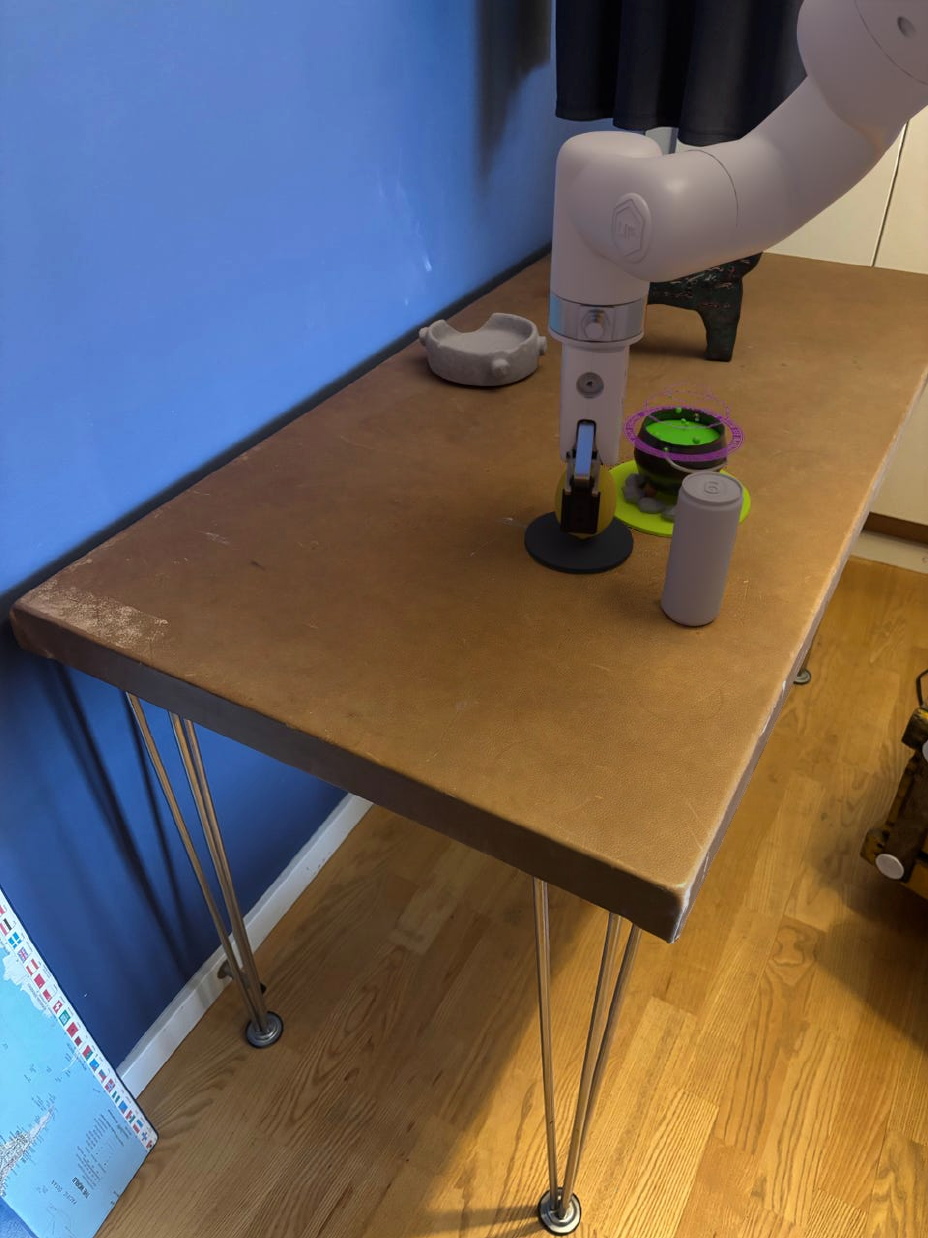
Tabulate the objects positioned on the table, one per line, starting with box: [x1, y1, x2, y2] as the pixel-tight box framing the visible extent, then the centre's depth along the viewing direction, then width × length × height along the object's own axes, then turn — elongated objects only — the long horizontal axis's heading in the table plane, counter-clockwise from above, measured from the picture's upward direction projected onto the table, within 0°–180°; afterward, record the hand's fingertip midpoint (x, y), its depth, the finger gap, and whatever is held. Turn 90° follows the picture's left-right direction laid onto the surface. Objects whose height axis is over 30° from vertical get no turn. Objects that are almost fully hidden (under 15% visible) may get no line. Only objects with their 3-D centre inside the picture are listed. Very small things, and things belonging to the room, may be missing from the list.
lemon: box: [553, 464, 617, 539], centre depth 81 cm, size 6×6×8 cm
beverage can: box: [661, 471, 744, 627], centre depth 72 cm, size 5×5×12 cm
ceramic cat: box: [647, 251, 764, 362], centre depth 112 cm, size 20×6×20 cm, turn 76°
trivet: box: [523, 510, 634, 575], centre depth 84 cm, size 10×10×1 cm
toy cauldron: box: [608, 382, 751, 538], centre depth 87 cm, size 15×15×11 cm
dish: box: [418, 312, 548, 387], centre depth 113 cm, size 14×14×5 cm
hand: (581, 507), depth 82 cm, fingers open, 6 cm apart
